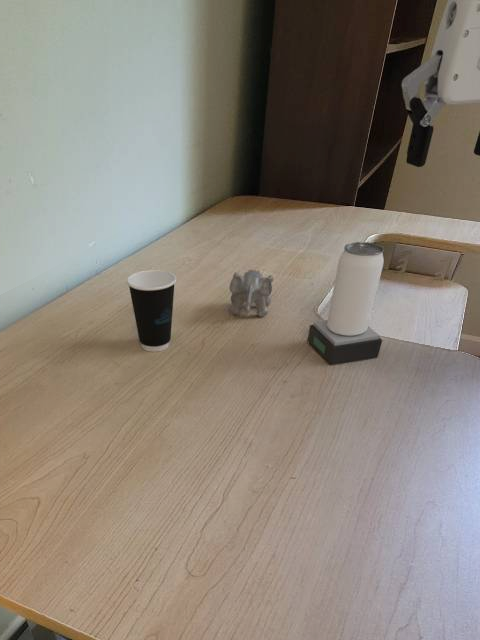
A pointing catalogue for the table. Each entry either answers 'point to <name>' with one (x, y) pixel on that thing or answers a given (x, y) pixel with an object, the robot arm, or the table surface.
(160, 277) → the dixie cup
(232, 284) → the elephant statuette
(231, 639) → the table surface
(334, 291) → the can
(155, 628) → the table surface
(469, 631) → the table surface
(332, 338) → the scale
